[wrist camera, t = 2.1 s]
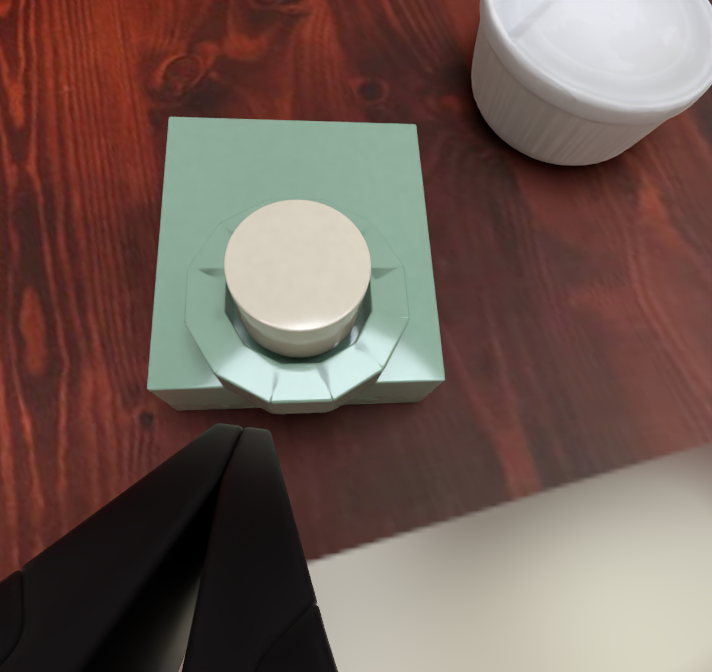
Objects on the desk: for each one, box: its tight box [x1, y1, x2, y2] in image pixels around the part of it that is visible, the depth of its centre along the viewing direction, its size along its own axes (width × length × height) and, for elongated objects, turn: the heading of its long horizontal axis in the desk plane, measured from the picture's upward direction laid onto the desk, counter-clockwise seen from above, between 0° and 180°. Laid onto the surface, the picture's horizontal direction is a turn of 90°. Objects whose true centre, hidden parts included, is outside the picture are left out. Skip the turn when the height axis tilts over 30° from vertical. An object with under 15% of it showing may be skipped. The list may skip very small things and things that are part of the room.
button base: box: [147, 117, 445, 414], centre depth 19 cm, size 12×10×6 cm
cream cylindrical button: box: [224, 199, 371, 358], centre depth 14 cm, size 4×4×2 cm
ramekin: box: [471, 0, 712, 166], centre depth 24 cm, size 11×11×5 cm
